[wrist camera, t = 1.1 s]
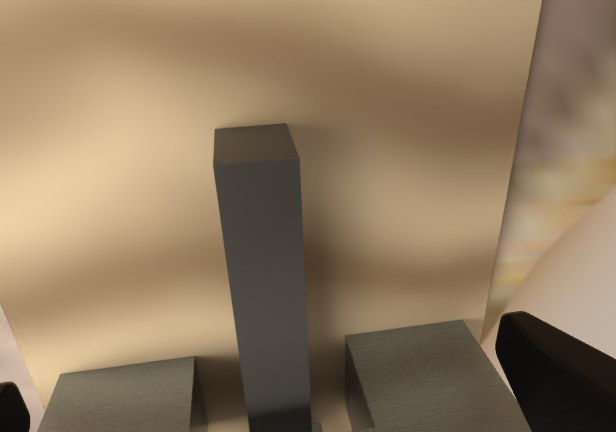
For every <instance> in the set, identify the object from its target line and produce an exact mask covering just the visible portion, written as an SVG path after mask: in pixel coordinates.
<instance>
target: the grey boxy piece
mask: <svg viewBox="0 0 616 432" xmlns="http://www.w3.org/2000/svg"><path fill="white" fill-rule="evenodd" d="M345 406H346V410H347V413H348V417H349V420H350V424H351V428H352V431H350V432H532V431H531V429H530V428H529V425H528V423H527V421H526V419H525V417H524V415H523V413H522V411H521V408H520V406H519V404H518V402H517V401H516V399H515V398H514V396H513V395H512V393H511V392H510V390H509V389H508V387H507V386H506V384H505V383H504V381H503V380H502V378H501V377H500V375H499V374H498V372H497V371H496V369H495V368H494V366H493V365H492V363H491V362H490V360H489V359H488V357H487V356H486V354H485V353H484V351H483V350H482V348H481V347H480V345H479V344H478V342H477V341H476V339H475V338H474V336H473V335H472V333H471V332H470V330H469V329H468V327H467V326H466V324H465V323H464V321H463V319H461V320H453V321H446V322H439V323H431V324H424V325H417V326H409V327H402V328H395V329H387V330H380V331H373V332H365V333H358V334H351V335H345ZM37 432H208V421H207V416H206V411H205V406H204V401H203V396H202V391H201V386H200V381H199V376H198V370H197V365H196V360H195V356H189V357H182V358H174V359H167V360H159V361H152V362H145V363H137V364H130V365H123V366H115V367H108V368H101V369H93V370H86V371H79V372H71V373H64V374H60V375H59V378H58V380H57V383H56V385H55V388H54V391H53V393H52V396H51V398H50V401H49V403H48V406H47V408H46V411H45V413H44V416H43V419H42V421H41V424H40V426H39V429H38V431H37Z"/></svg>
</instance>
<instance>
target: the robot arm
mask: <svg viewBox="0 0 616 432" xmlns="http://www.w3.org/2000/svg"><path fill="white" fill-rule="evenodd" d="M495 346H496V347H495V349H496V354H497V357H498V359H499V362H500V364H501V366H502V369H503V371H504V373H505V375H506V377H507V380H508V382H509V384H510V386H511V388H512V390H513V393H514V395H515V397H516V400H517V402H518V404H519V406H520V408H521V411H522V413H523V415H524V417H525V419H526V421H527V423H528V425H529V428H530V429H531V431H532V432H616V359H614V358H613V357H611V356H609V355H607V354H605V353H603V352H601V351H599V350H597V349H595V348H594V347H592V346H590V345H588V344H586V343H584V342H582V341H580V340H578V339H576V338H574V337H573V336H571V335H569V334H567V333H565V332H563V331H561V330H559V329H557V328H556V327H554V326H552V325H550V324H548V323H546V322H544V321H542V320H540V319H538V318H537V317H535V316H533V315H531V314H529V313H527V312H524V311H517V312H510V313H505V314H503V315H502V317H501V319H500V324H499V329H498V334H497V339H496V344H495ZM29 429H30V414H29V411H28V409H27V407H26V404H25V402H24V400H23V398H22V396H21V393H20V391H19V389H18V387H17V385H16V384H15V383H13V382H2V383H0V432H29Z"/></svg>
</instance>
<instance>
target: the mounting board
mask: <svg viewBox="0 0 616 432" xmlns="http://www.w3.org/2000/svg"><path fill="white" fill-rule="evenodd" d="M541 3H542V0H0V304H1V307H2V309H3V311H4V314H5V316H6V319H7V321H8V323H9V326H10V328H11V330H12V333H13V335H14V337H15V340H16V342H17V344H18V347H19V349H20V351H21V354H22V356H23V358H24V361H25V363H26V365H27V368H28V370H29V372H30V375H31V377H32V379H33V382H34V384H35V386H36V389H37V391H38V393H39V396H40V398H41V400H42V403H43V405H44V407H45V410H46V408H47V406H48V403H49V401H50V398H51V396H52V393H53V391H54V388H55V385H56V383H57V380H58V378H59V375H60V374H64V373H71V372H79V371H86V370H93V369H101V368H108V367H115V366H123V365H130V364H137V363H145V362H152V361H159V360H167V359H174V358H182V357H189V356H195V360H196V365H197V370H198V376H199V381H200V386H201V391H202V396H203V401H204V406H205V411H206V416H207V421H208V432H250V431H249V424H248V416H247V409H246V402H245V395H244V387H243V380H242V373H241V366H240V358H239V351H238V344H237V337H236V329H235V322H234V315H233V308H232V300H231V293H230V286H229V279H228V271H227V264H226V257H225V249H224V242H223V235H222V228H221V220H220V213H219V206H218V199H217V191H216V184H215V177H214V170H213V154H214V132H215V129H219V128H232V127H244V126H256V125H269V124H281V123H286V124H287V127H288V129H289V132H290V134H291V137H292V139H293V142H294V145H295V147H296V150H297V152H298V155H299V157H300V177H301V199H302V221H303V243H304V266H305V288H306V310H307V332H308V354H309V377H310V399H311V421H312V424H316V423H321V425H322V430H323V432H350V431H352V428H351V424H350V420H349V417H348V413H347V410H346V406H345V335H351V334H358V333H365V332H373V331H380V330H387V329H395V328H402V327H409V326H417V325H424V324H431V323H439V322H446V321H453V320H461V319H463V321H464V323H465V324H466V326H467V327H468V329H469V330H470V332H471V333H472V335H473V336H474V338H475V339H476V341H477V342H478V344H479V345H480V340H481V335H482V329H483V324H484V318H485V313H486V307H487V302H488V296H489V291H490V285H491V280H492V274H493V269H494V263H495V258H496V252H497V247H498V241H499V235H500V230H501V224H502V219H503V213H504V208H505V202H506V197H507V191H508V186H509V180H510V175H511V169H512V164H513V158H514V153H515V147H516V142H517V136H518V130H519V125H520V119H521V114H522V108H523V103H524V97H525V92H526V86H527V81H528V75H529V70H530V64H531V59H532V53H533V48H534V42H535V37H536V31H537V25H538V20H539V14H540V9H541Z"/></svg>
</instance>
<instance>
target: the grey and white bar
mask: <svg viewBox="0 0 616 432" xmlns="http://www.w3.org/2000/svg"><path fill="white" fill-rule="evenodd" d="M213 170H214V177H215V184H216V191H217V199H218V206H219V213H220V220H221V228H222V235H223V242H224V249H225V257H226V264H227V271H228V279H229V286H230V293H231V300H232V308H233V315H234V322H235V329H236V337H237V344H238V351H239V358H240V366H241V373H242V380H243V387H244V395H245V402H246V409H247V416H248V424H249V431H250V432H323V430H322V425H321V423H316V424H312V421H311V399H310V377H309V354H308V332H307V310H306V288H305V266H304V243H303V221H302V199H301V177H300V157H299V155H298V152H297V150H296V147H295V145H294V142H293V139H292V137H291V134H290V132H289V129H288V127H287V124H286V123H281V124H269V125H256V126H244V127H232V128H219V129H215V132H214V154H213Z"/></svg>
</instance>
